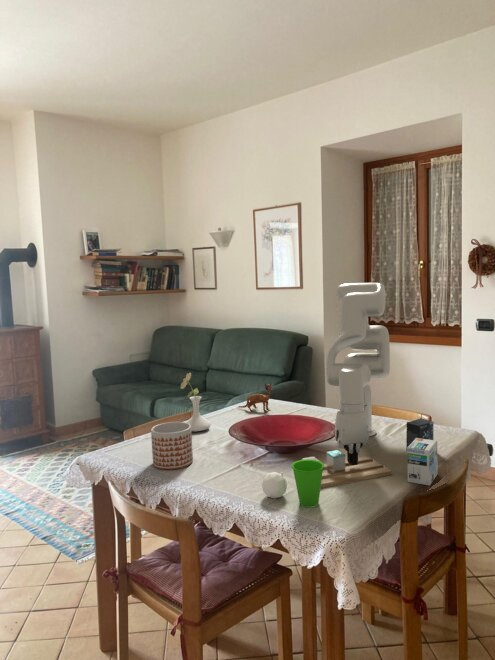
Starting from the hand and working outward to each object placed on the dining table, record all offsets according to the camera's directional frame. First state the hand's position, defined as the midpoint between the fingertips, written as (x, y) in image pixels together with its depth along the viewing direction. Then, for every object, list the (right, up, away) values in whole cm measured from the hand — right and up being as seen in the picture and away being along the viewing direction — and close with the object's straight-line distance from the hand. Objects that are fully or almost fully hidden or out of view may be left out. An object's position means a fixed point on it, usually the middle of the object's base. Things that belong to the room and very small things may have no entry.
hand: (352, 463), depth 166 cm
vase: (-59, -4, +15) cm, 61 cm away
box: (+27, 0, +16) cm, 31 cm away
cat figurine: (-30, +4, +80) cm, 85 cm away
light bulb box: (+20, -3, -7) cm, 21 cm away
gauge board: (-3, -3, -1) cm, 4 cm away
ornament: (-26, -6, -16) cm, 30 cm away
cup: (-16, -6, -21) cm, 27 cm away
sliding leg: (-6, -2, -2) cm, 6 cm away
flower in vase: (-55, 0, +52) cm, 76 cm away
